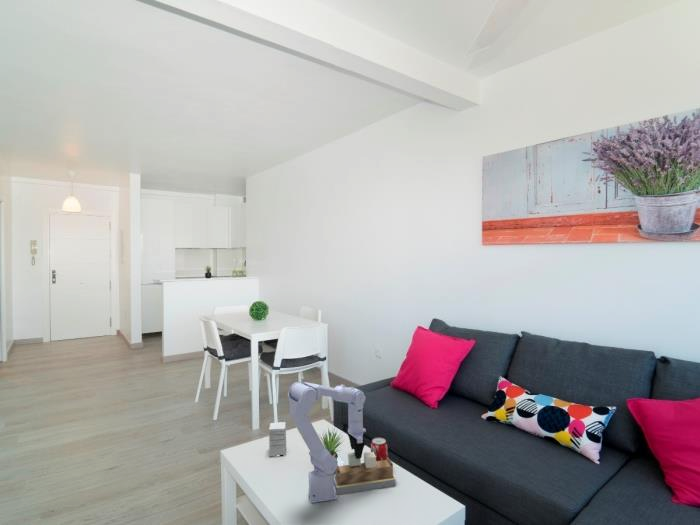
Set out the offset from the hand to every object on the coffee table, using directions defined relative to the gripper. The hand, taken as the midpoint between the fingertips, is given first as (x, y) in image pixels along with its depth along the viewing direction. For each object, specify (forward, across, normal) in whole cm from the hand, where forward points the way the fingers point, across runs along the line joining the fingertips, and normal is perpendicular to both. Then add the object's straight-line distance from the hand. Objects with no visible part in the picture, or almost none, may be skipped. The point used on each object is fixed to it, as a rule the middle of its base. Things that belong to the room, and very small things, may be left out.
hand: (356, 453), depth 152 cm
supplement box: (+11, +30, +30) cm, 44 cm away
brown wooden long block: (+8, -4, -2) cm, 9 cm away
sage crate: (+3, -2, +1) cm, 4 cm away
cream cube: (+3, -4, -5) cm, 7 cm away
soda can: (+11, +5, -11) cm, 16 cm away
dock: (+10, -4, -2) cm, 11 cm away
